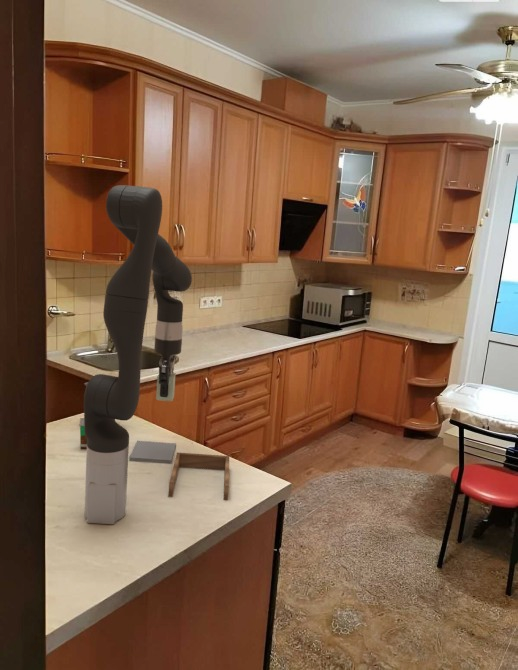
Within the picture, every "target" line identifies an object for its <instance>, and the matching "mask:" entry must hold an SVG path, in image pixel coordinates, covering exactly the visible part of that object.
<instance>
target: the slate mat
mask: <svg viewBox="0 0 518 670" xmlns="http://www.w3.org/2000/svg"><path fill="white" fill-rule="evenodd" d="M176 446H177V443H176V442H175V443H174V442H164V441H163V442H161V441H147V440H136V442H135V445H134V447H133V449H132V451H131V453H130V456H128V462H129V461H130V462H132V461H133V462H143V463H144V462H145V463H159V464H172V463H173V459H174V454H175V451H176Z"/></svg>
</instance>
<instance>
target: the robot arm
mask: <svg viewBox="0 0 518 670" xmlns="http://www.w3.org/2000/svg"><path fill="white" fill-rule="evenodd" d="M105 208H106V214H107V216H108V219H109V220H110V222H111V223H112V225H113V226H114V227H115V228H117V230H118V231H119V232H120V233H121V234H122V235H124V236H125V237H126V239H127V240H128V241H129V242H130V243H131V244H132V245H133V246H132V249H131V251H130V253H129V255H128V256H127V258H126V259H125V260H124V262H123V263H122V264H121V265H120V267H118V269H117V270H115V271H116V272H115V273H114V274H113V275H112V277H111V278H110V280H109V281H108V283H107V286H106V289H105V296H104V303H103V304H104V305H103V315H102V316H103V321H104V324H105V326H106V327H105V328H106V329H107V332H108V334H109V337H110V338H111V341H112V342H113V345H114V348H115V351H116V354H117V355H116V356H117V360H118V361H117V362H118V376H114V375H108V374H101V373H97V374H95V375H93V376H92V377H91V378H90V379H89V380H88V381H87V382H88V384H87V386H86V385H85V386H86V387H85V390H84V394H83V418H84V431H85V436H86V439H87V449H86V459H85V487H84V488H85V491H84V493H85V495H84V517H85V518H86V523H88V524H99V525H100V524H103V525H115V524H116V522H118V521H120V520H121V519H123V518H124V516H125V515H126V512H127V511H126V510H127V509H126V508H127V488H128V471H129V470H128V468H129V452H130V451H129V449H130V434H129V432H128V430H127V429H126V428H125V427H123V426H122V425H120V424H119V422H117V421H116V420H118V421H128V420H130V419H131V418H133V417H134V415H135V414H136V411H137V408H138V405H139V399H140V391H141V390H140V388H141V372H142V371H141V368H142V349H143V341H144V331H145V327H146V326H145V324H146V319H147V314H148V313H147V312H148V305H149V295H150V285H151V278H152V285H153V288H154V293H155V298H156V303H157V304H156V305H157V307H156V308H157V310H156V311H157V312H156V323H155V332H154V347H153V348H154V349H153V350H154V352H155V354H158V355H161V357H160V359H159V362H158V365H159V366H158V375H159V384H161V385H160V396H161V397H167V396H168V388H169V377H170V376H171V375H172V373H174V371H175V362H176V358H175V357H176V356H177V355H179V354H181V352H182V345H183V344H182V343H183V315H184V304H183V302H182V301H181V300H180V299H176V298H174V297H172V296H171V295H170V292H171V291H172V292H180V293H182V292H185V291H188V289H189V288H190V287H191V285H192V281H193V277H192V273H191V270H190V268H189V267H188V266H187V265H186V264H185V262H183V261H182V260H181V259H180V258H179V257H177V256H176V254H175V253H174V251H173V249H172V247H171V245H170V243H169V242H168V241H167V240H166V239H165V237H163V236H161V235H160V234H159V232H160V228H161V227H160V226H161V222H162V216H163V215H162V214H163V198H162V195H161V193H160V191H159V190H158V189H156V188H155V187H149V186H148V187H146V186H139V185H137V186H136V185H124V184H120V185H115V186H113V187H111V188H110V190H109V191H108V193H107V196H106V201H105ZM151 275H152V277H151ZM169 291H170V292H169ZM162 377H164V378H166V380H162ZM114 419H115V420H114Z"/></svg>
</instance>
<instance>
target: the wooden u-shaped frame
mask: <svg viewBox="0 0 518 670" xmlns="http://www.w3.org/2000/svg"><path fill="white" fill-rule="evenodd" d="M180 468H186V469H201V470H202V469H203V470H216V471H224V477H223V479H224V481H223V500H224V501H228V499H229V498H228V497H229V496H228V495H229V488H230V487H229V484H230V483H229V480H230V455H219V454H207V453H206V454H204V453H191V452H187V453H186V452H178V451H177V452H176V455H175V459H174V461H173V466H172V471H171V474H170V478H169V483H168V494H167V495H168V496H167V497H170V498H171V497H173V496H174V491H175V486H176V482H177V478H178V474H179V470H180Z"/></svg>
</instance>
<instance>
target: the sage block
mask: <svg viewBox="0 0 518 670" xmlns="http://www.w3.org/2000/svg"><path fill="white" fill-rule="evenodd" d="M162 380H166V378H164V377H162ZM160 385H161V384H159V374H158V375H157V379H156V394H155V395H156V396H155V400H156V401H161V402H162V401H164V402H173V400H174V398H175V390H176V389H175V388H176V373H175V372H173V373H172V375H171V376H170V377H169V388H168V396H167V397H161V396H160Z"/></svg>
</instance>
